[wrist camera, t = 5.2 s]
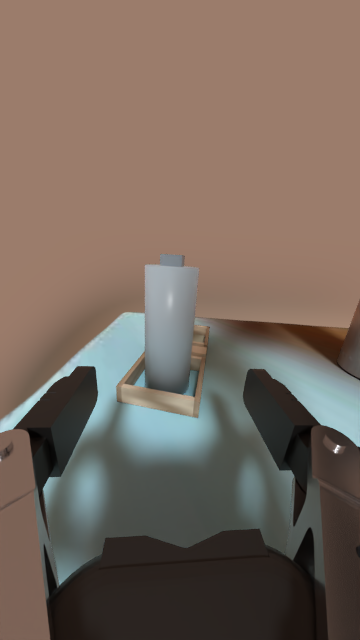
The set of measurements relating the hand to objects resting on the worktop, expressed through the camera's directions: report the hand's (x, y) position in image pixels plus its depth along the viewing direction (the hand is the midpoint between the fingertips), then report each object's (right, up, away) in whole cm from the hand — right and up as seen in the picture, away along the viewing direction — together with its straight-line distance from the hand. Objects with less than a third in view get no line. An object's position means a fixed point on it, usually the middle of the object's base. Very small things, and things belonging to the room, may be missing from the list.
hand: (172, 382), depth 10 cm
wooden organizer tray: (0, -2, +17) cm, 17 cm away
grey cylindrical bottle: (-1, -4, +12) cm, 12 cm away
